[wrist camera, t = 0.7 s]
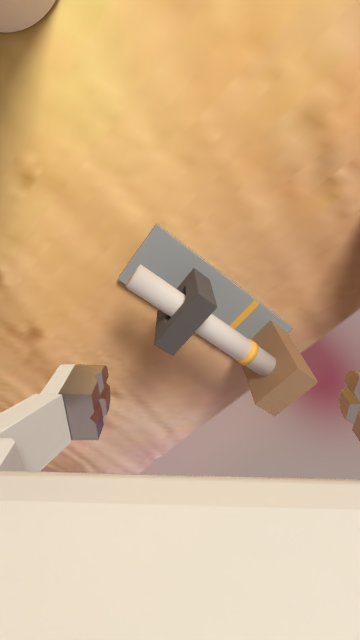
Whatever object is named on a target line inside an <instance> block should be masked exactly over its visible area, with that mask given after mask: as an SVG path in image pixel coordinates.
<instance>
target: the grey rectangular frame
mask: <svg viewBox="0 0 360 640" xmlns="http://www.w3.org/2000/svg"><path fill="white" fill-rule="evenodd" d="M177 290H178V291H180V292H181V293H183V294H184V295H186V298H187V299H186V300H185V302H184V303H183V304H182V305H181V306H180V307H179V309H178V310H177V311H176V312H175V313H174V314H173V316H172V317H170V316H169V315H167V314H166V313H164V312H163V311H161V310H159V311H158V312H157V322H156V333H155V343H154V345H156V346H157V347H159V348H160V349H162V350H164V351H165V352H167V353H169V354H170V355H172V356H173V355H174V354H175V353H176V352H177V351H178V350H179V349H180V348H181V346H182V345H183V344H184V343H185V342H186V341H187V340H188V339H189V338H190V337H191V336H192V334H193V333H194V332H195V331H196V330H197V329H198V328H199V327H200V326H201V325H202V324H203V323H204V321H205V320H206V319H207V318H208V317H209V316H210V315H211V314H212V313H213V312H214V311H215V310H216V308H217V304H216V300H215V297H214V293H213V289H212V286H211V282H210V279H209V278H207V277H206V276H204V275H203V274H202V273H200V272H199V271H198V270H196V269H195V268H193V269H192V271H191V272H190V273H189V274H188V275H187V277H186V278H185V279H184V280H183V282H182V283H181V284H180V285H179V286H178V288H177Z"/></svg>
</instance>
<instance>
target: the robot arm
mask: <svg viewBox="0 0 360 640" xmlns="http://www.w3.org/2000/svg"><path fill="white" fill-rule="evenodd" d="M55 1H56V0H0V32H6V33H8V32H16V31H20V30H24V29H26V28H28V27H30V26H32V25H34V24H35V23H37V22H38V21H39V20H41V19H42V18H43V17H44V16H45V15H46V14H47V13H48V11H49V10H50V9H51V7H52V6H53V4H54V3H55ZM107 379H108V369H107V367H106V365H82V364H77V365H76V364H62V365H60V366H59V367H58V368H57V370H56V371H55V373H54V374H53V376H52V377H51V379H50V380H49V382H48V383H47V384H46V386H45V387H44V389H43V390H42V392H41V393H40V394H34V395H33V396H31V397H29V398H27V399H25V400H23V401H22V402H20V403H18V404H16V405H14V406H12V407H11V408H9V409H7V410H5V411H3V412H2V413H0V640H360V480H355V479H316V478H275V477H235V476H234V477H233V476H192V475H152V474H112V473H72V472H39V471H40V470H41V469H43V468H44V467H45V466H46V465H47V464H48V463H49V462H50V461H51V460H52V459H53V458H55V457H56V456H57V455H58V454H59V453H60V452H61V451H62V450H63V449H64V448H65V447H66V446H67V445H69V444H70V443H71V442H72V441H71V440H98V439H99V437H100V434H101V431H102V428H103V425H104V422H103V417H104V416H105V415H107V413H108V410H109V405H110V386H109V385H108V384H107V383H106V381H107ZM345 382H346V384H347V387H346V388H345V389H343V390H342V391H341V394H340V398H339V403H340V410H341V412H342V414H343V416H344V418H345V419H346V420H347V421H349V422H350V423H352V424H353V429H352V430H353V431H354V433H355V435H356V436H357V438H358V439H359V441H360V371H352V370H351V371H349V372H348V373H347V375H346V377H345Z"/></svg>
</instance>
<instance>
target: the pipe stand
mask: <svg viewBox="0 0 360 640" xmlns="http://www.w3.org/2000/svg"><path fill="white" fill-rule="evenodd" d="M193 268H195V269H196V270H198V271H199V272H200V273H202V274H203V275H204V276H206V277H207V278H209V279H210V282H211V286H212V289H213V293H214V297H215V300H216V304H217V308H216V310H215V311H214V312H213V313H212V314H211V315H210V316H209V317H208V318H207V319H206V320H205V321H204V323H203V324H202V325H201V326H200V327H199V328H198V329H197V330H196V331H195V333H196V334H198V335H199V336H201V337H202V338H204V339H205V340H207V341H208V342H210V343H211V344H213V345H215V346H216V347H218V348H219V349H221V350H222V351H224V352H225V353H227V354H228V355H230V356H231V357H233V358H234V359H235V361H237V362H238V363H240V364H241V365H243V368H244V371H245V374H246V377H247V380H248V383H249V386H250V390H251V393H252V396H253V399H254V402H255V404H256V405H257V406H259V407H260V408H262V409H264V410H265V411H267V412H269V413H270V414H272V415H274V416H276V415H277V414H279V413H280V412H281V411H282V410H284V409H285V408H286V407H287V406H289V405H290V404H291V403H293V402H294V401H295V400H296V399H298V398H299V397H300V396H301V395H303V394H304V393H305V392H307V391H308V390H309V389H310V388H311V387H313V386H314V385H315V384H317V383H318V382H317V380H316V378H315V377H314V375H313V373H312V372H311V370H310V369H309V367H308V365H307V364H306V362H305V361H304V359H303V358H302V356H301V354H300V353H299V351H298V349H297V348H296V346H295V345H294V343H293V341H292V340H291V338H290V337H289V335H288V333H289V332H290V331H291V330H292V329H293V328H292V326H291V325H289V324H288V323H287V322H285V321H284V320H283V319H281V318H280V317H279V316H278V315H276V314H275V313H274V312H272V311H271V310H270V309H268V308H267V307H266V306H264V305H263V304H262V303H260V302H259V301H258V300H257V299H255V298H254V297H253V296H251V295H250V294H249V293H247V292H246V291H245V290H243V289H242V288H241V287H239V286H238V285H237V284H236V283H234V282H233V281H232V280H230V279H229V278H228V277H226V276H225V275H224V274H222V273H221V272H220V271H218V270H217V269H216V268H215V267H213V266H212V265H211V264H209V263H208V262H207V261H205V260H204V259H203V258H201V257H200V256H199V255H197V254H196V253H195V252H194V251H192V250H191V249H190V248H188V247H187V246H186V245H184V244H183V243H182V242H180V241H179V240H178V239H176V238H175V237H174V236H173V235H171V234H170V233H169V232H167V231H166V230H165V229H163V228H162V227H161V226H159V225H158V224H156V225H155V227H154V228H153V229H152V231H151V232H150V234H149V235H148V236H147V238H146V239H145V241H144V242H143V244H142V245H141V246H140V248H139V249H138V251H137V252H136V253H135V255H134V256H133V258H132V259H131V261H130V262H129V263H128V265H127V266H126V268H125V269H124V270H123V272H122V273H121V275H120V276H119V278H118V280H120V281H121V282H123V283H124V284H126V286H125V287H126V288H127V289H129V290H131V291H132V292H134V293H135V294H137V295H138V296H140V297H141V298H143V299H144V300H146V301H147V302H149V303H150V304H152V305H153V306H155V307H156V308H158V309H160V310H161V311H163V312H164V313H166V314H167V315H169V316H170V317H172V316H173V314H174V313H175V312H176V311H177V310H178V309H179V307H180V306H181V305H182V304H183V303H184V302H185V300H186V299H187V298H186V295H184V294H183V293H181V292H180V291H178V290H177V288H178V286H179V285H180V284H181V283H182V282H183V280H184V279H185V278H186V277H187V275H188V274H189V273H190V272H191V271H192V269H193Z"/></svg>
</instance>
